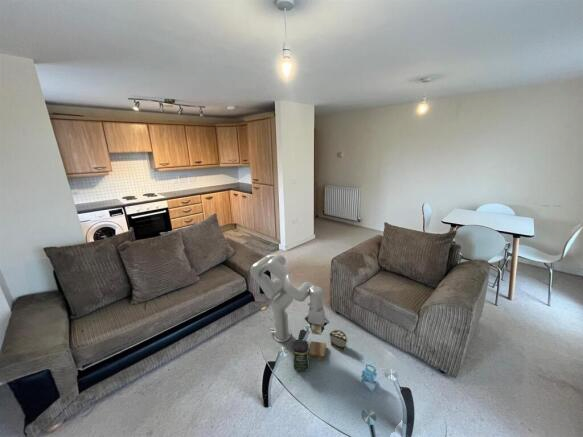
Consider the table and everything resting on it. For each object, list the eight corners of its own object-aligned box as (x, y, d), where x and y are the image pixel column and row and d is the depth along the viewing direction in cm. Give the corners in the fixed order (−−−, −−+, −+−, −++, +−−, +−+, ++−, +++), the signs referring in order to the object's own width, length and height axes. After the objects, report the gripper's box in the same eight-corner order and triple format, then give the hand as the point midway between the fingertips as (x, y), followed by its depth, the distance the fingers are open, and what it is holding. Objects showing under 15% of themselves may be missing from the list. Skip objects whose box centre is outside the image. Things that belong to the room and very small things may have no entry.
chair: (364, 374, 141) (364, 359, 137) (378, 382, 136) (379, 366, 132) (358, 384, 136) (359, 369, 132) (373, 393, 131) (373, 377, 127)
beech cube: (311, 333, 149) (311, 325, 147) (313, 326, 155) (313, 318, 153) (321, 335, 148) (321, 327, 146) (322, 327, 153) (322, 320, 151)
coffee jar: (292, 371, 146) (291, 347, 140) (294, 359, 153) (293, 336, 147) (308, 372, 144) (307, 349, 138) (309, 361, 152) (308, 338, 146)
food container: (349, 345, 161) (350, 333, 158) (346, 352, 156) (347, 340, 153) (332, 338, 167) (332, 326, 164) (329, 344, 163) (329, 333, 159)
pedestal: (308, 358, 154) (308, 353, 153) (311, 345, 163) (311, 341, 162) (324, 361, 152) (324, 356, 150) (326, 348, 161) (326, 343, 159)
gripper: (301, 308, 144) (302, 332, 150) (330, 312, 139) (330, 336, 145) (303, 300, 151) (304, 323, 157) (331, 303, 146) (331, 327, 152)
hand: (317, 329), depth 151 cm, fingers closed on beech cube, 6 cm apart
